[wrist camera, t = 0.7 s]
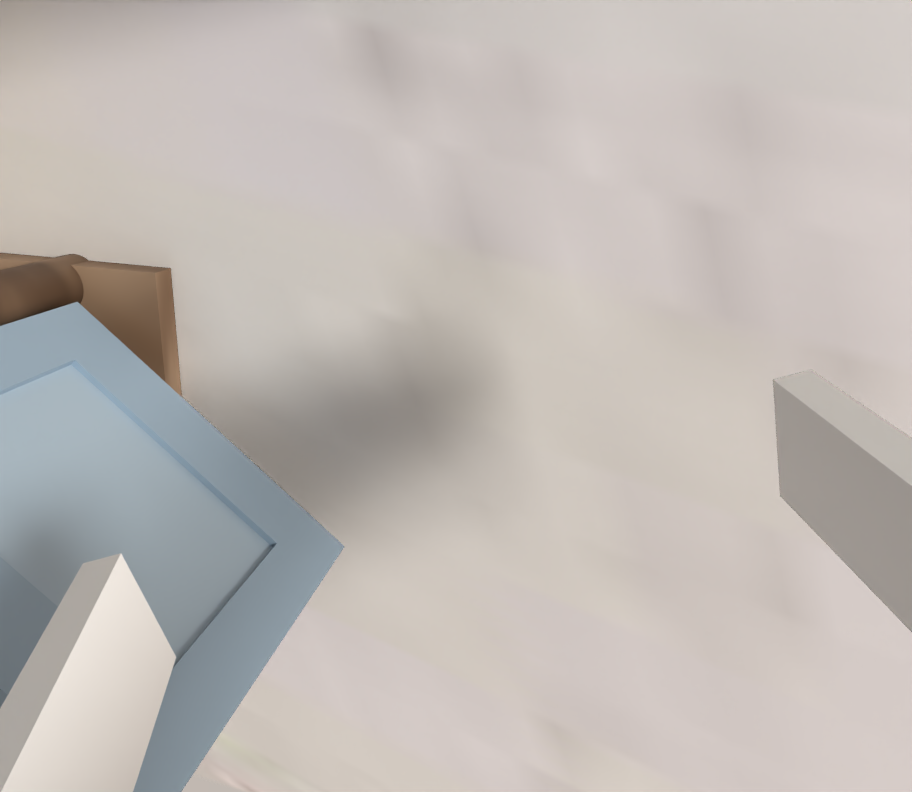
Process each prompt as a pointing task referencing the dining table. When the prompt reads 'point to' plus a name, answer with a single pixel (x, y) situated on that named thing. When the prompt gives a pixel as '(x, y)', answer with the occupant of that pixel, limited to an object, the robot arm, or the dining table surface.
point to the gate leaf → (143, 524)
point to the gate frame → (99, 301)
